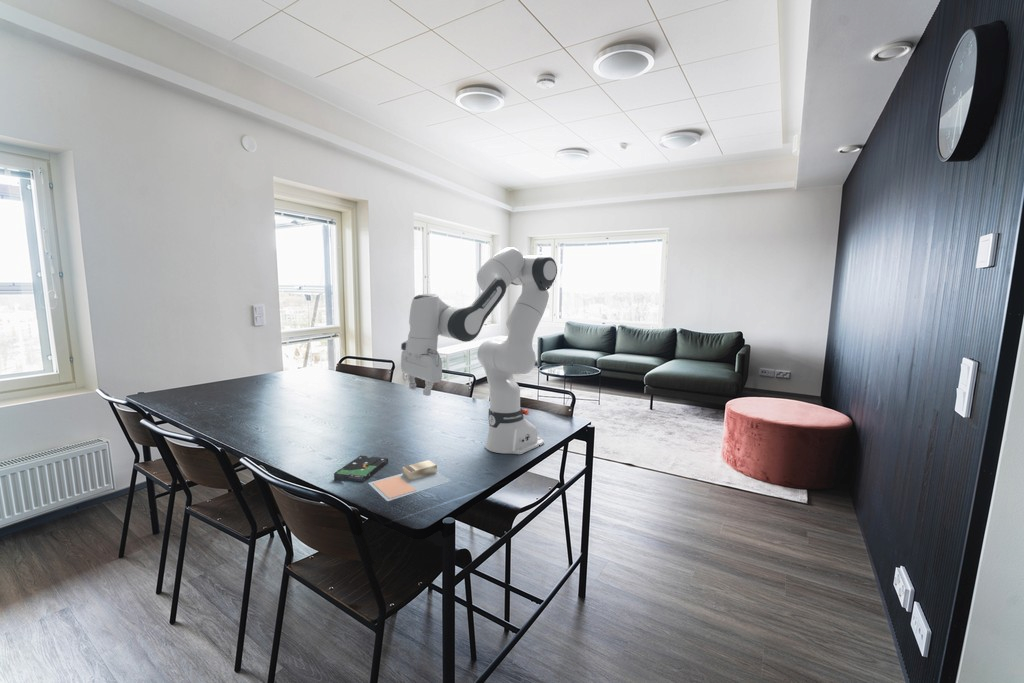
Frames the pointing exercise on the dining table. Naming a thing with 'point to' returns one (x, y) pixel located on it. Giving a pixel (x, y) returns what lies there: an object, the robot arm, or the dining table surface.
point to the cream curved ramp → (419, 469)
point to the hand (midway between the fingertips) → (419, 392)
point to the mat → (406, 485)
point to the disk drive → (360, 468)
